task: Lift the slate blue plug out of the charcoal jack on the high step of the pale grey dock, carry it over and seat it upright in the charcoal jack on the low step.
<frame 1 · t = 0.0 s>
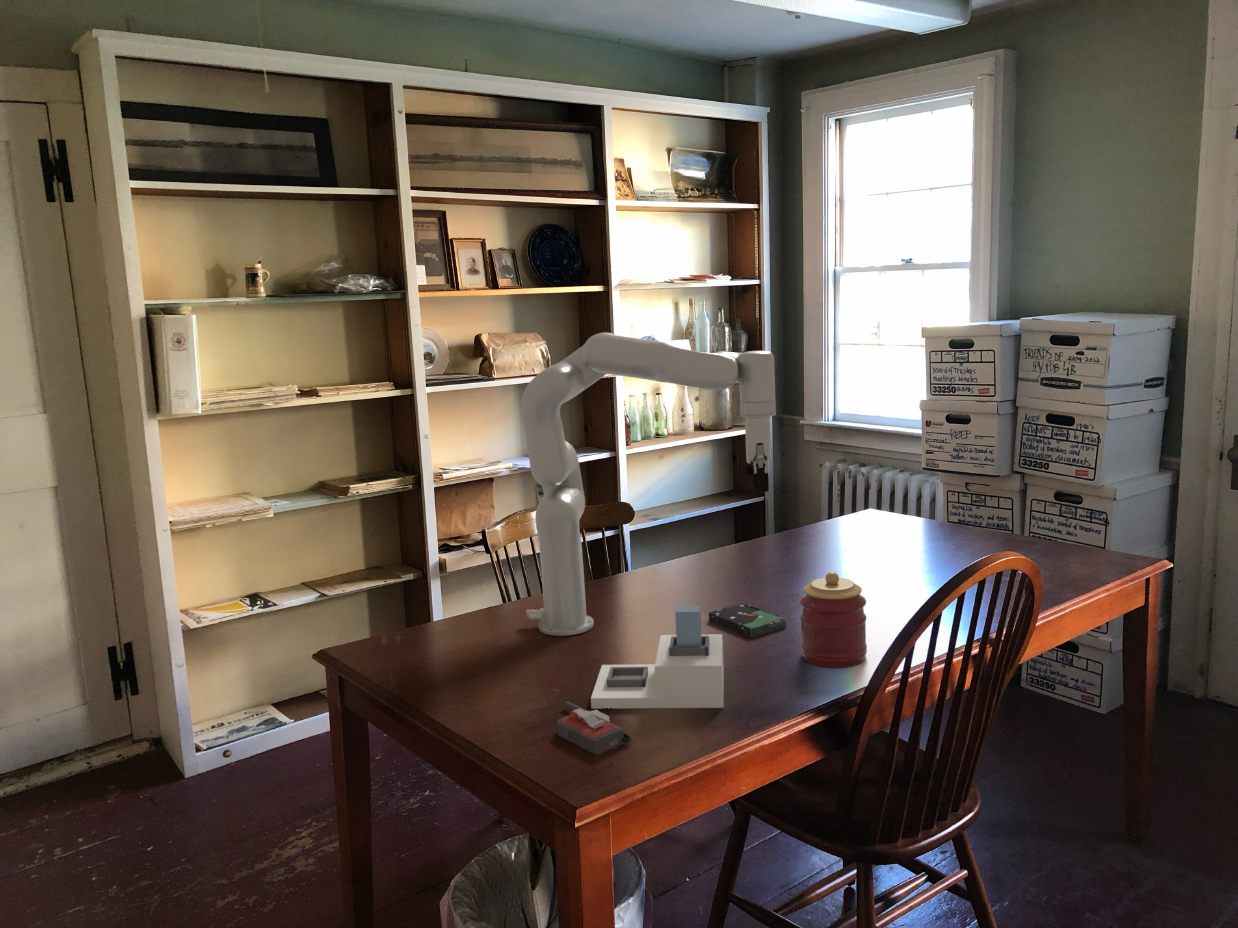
hand: (760, 486, 210), 31 cm above the table, tool pointing down, fingers open, 9 cm apart
canister: (833, 657, 194), on the table
plug: (689, 649, 180), point 8 cm above the table, touching dock
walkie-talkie: (584, 733, 167), on the table
dock: (659, 690, 183), on the table
disk drive: (747, 627, 216), on the table
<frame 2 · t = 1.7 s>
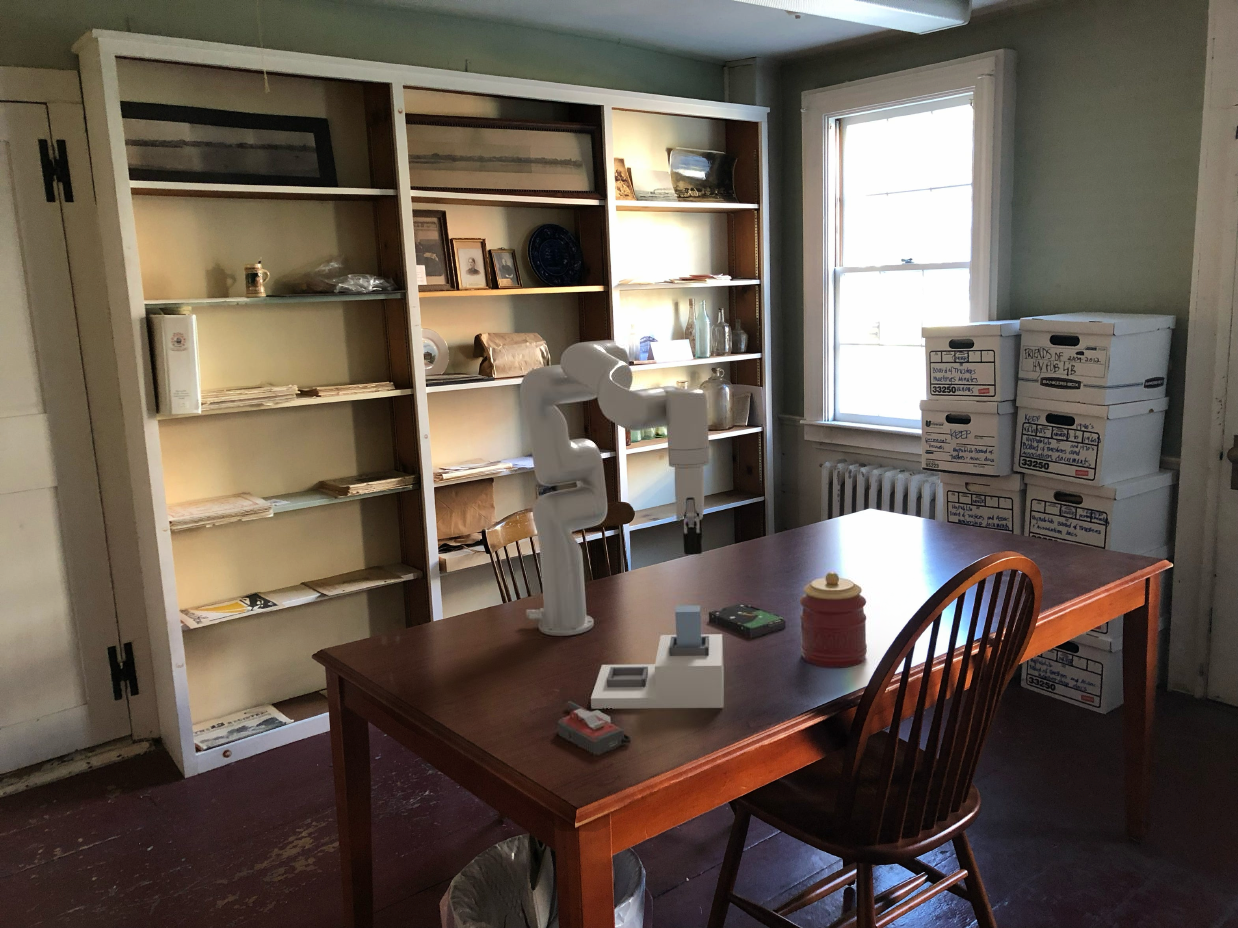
hand: (693, 546, 180), 27 cm above the table, tool pointing down, fingers open, 9 cm apart
nothing on the table moved.
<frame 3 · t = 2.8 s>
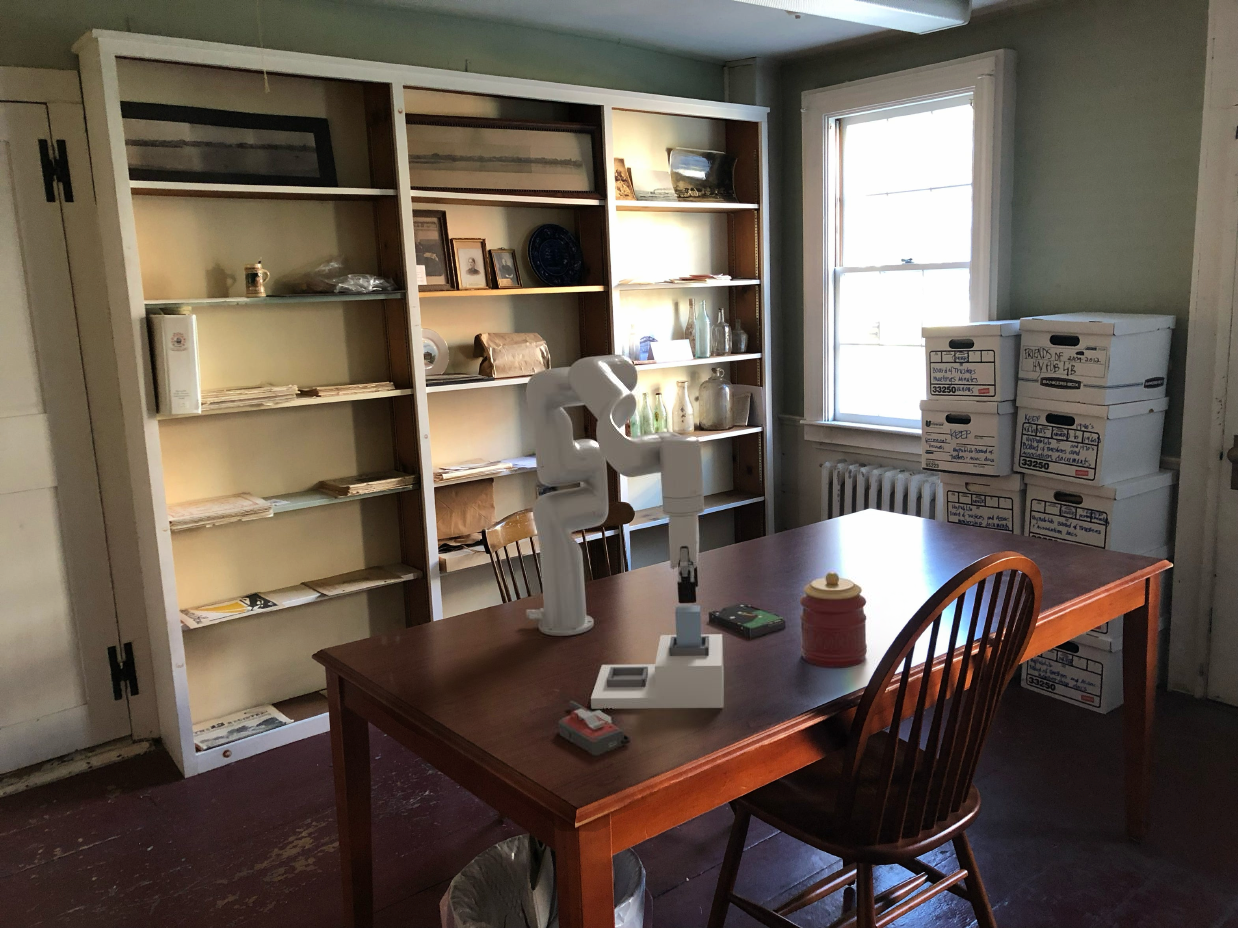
hand: (688, 594, 178), 19 cm above the table, tool pointing down, fingers open, 9 cm apart
nothing on the table moved.
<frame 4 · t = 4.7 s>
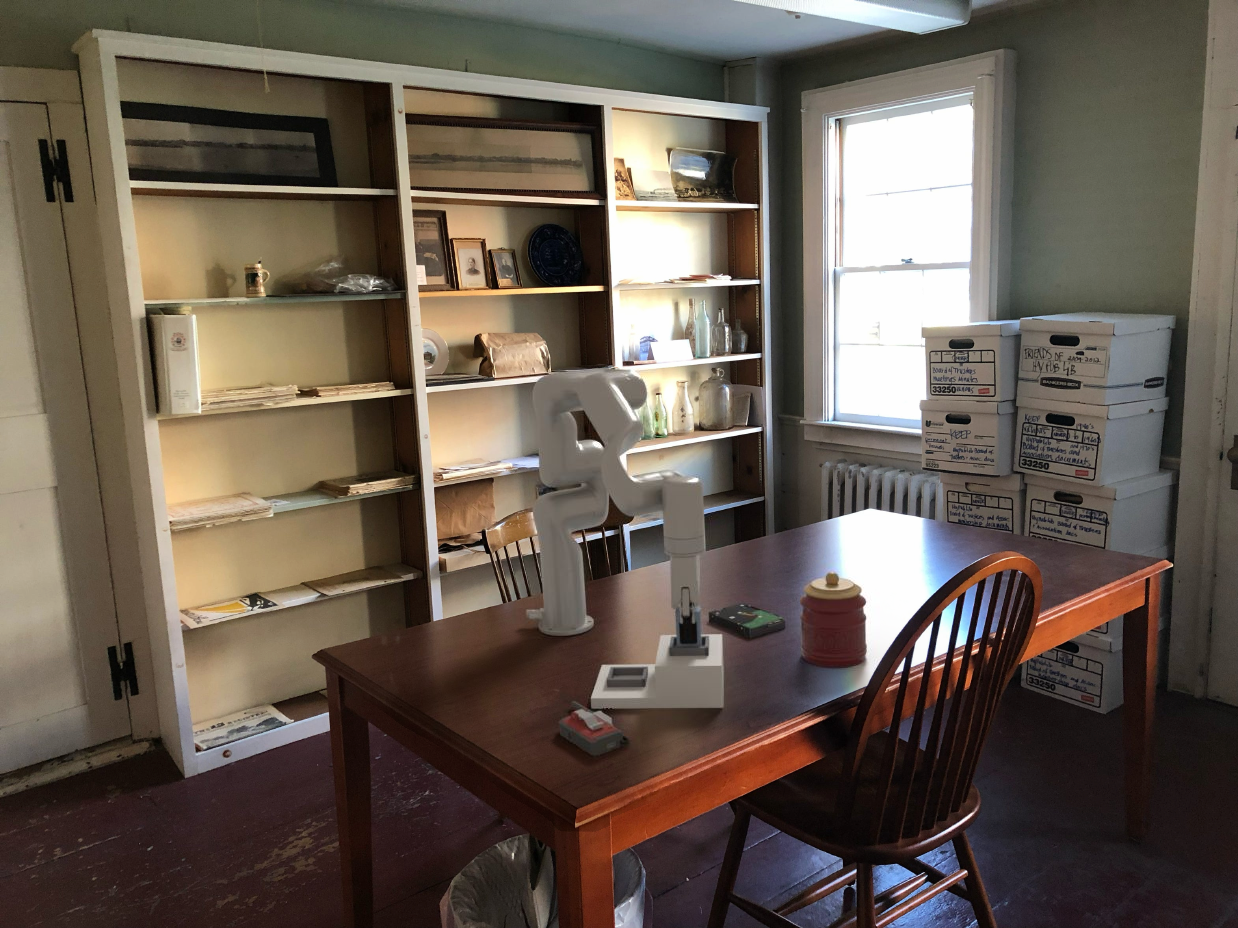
hand: (689, 638, 180), 10 cm above the table, tool pointing down, fingers closed on plug, 3 cm apart
plug: (689, 649, 180), point 8 cm above the table, touching dock, gripper
everything else where it was.
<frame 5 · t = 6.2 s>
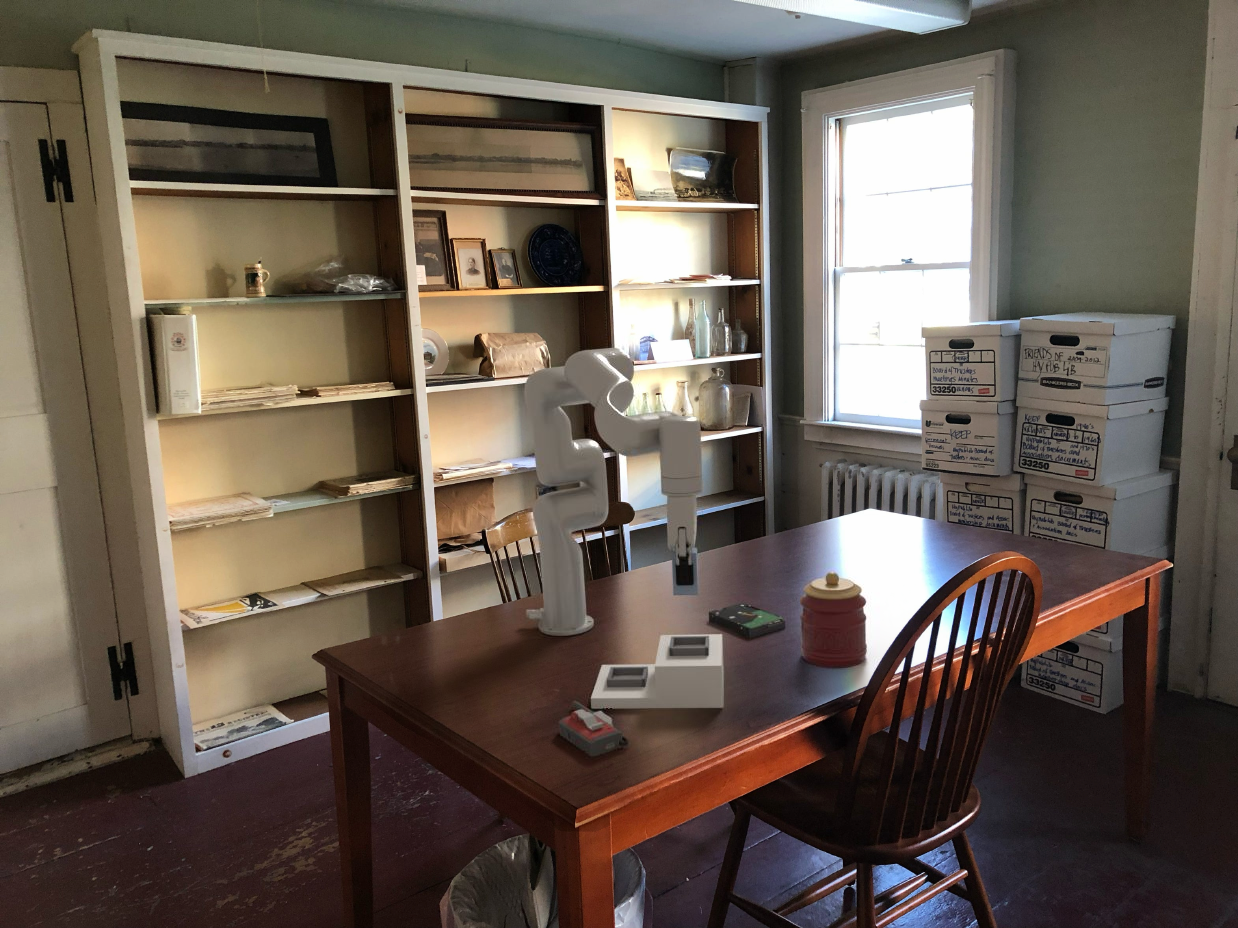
hand: (685, 580, 178), 21 cm above the table, tool pointing down, fingers closed on plug, 3 cm apart
plug: (686, 592, 179), point 19 cm above the table, touching gripper
everything else where it was.
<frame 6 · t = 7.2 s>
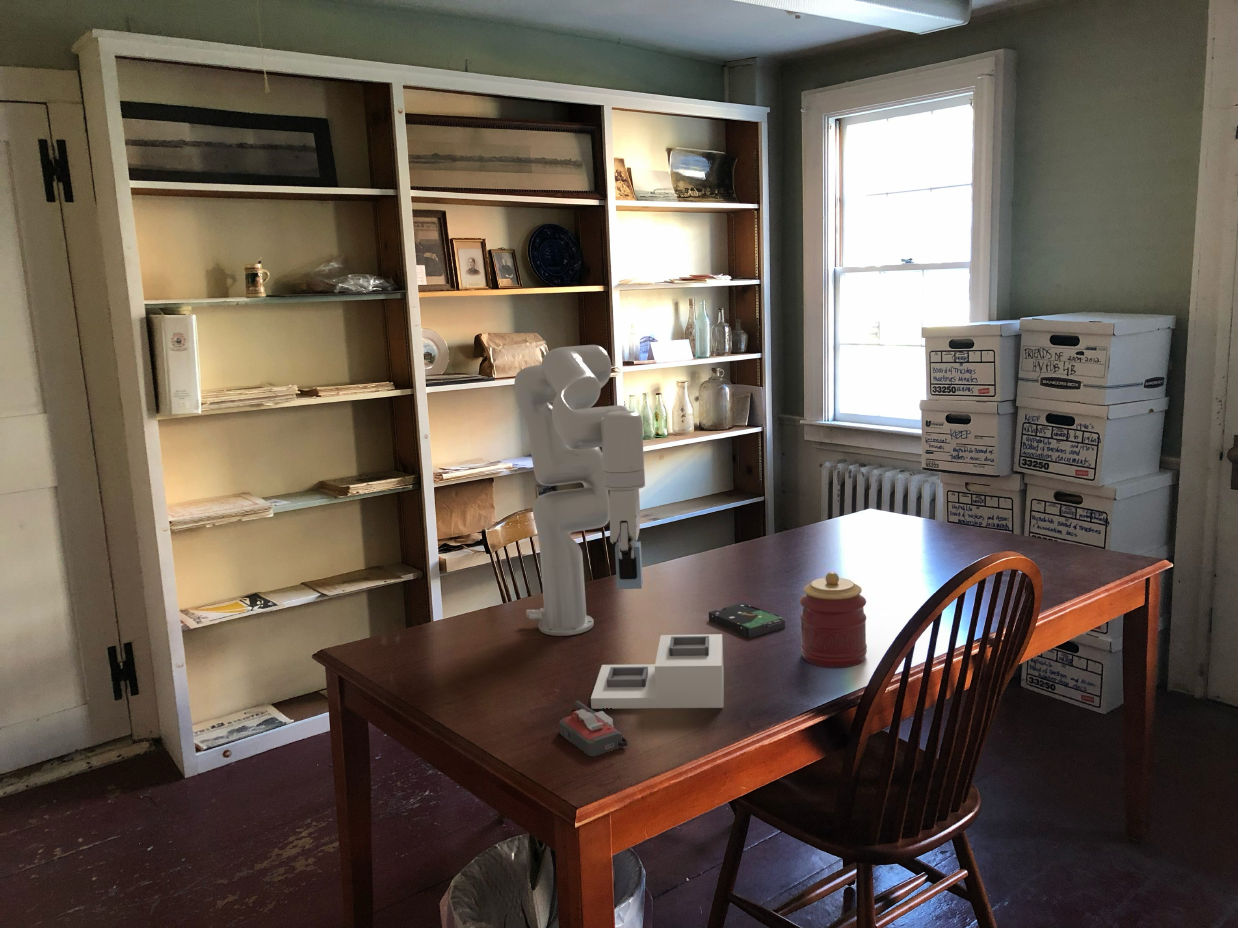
hand: (629, 574, 179), 23 cm above the table, tool pointing down, fingers closed on plug, 3 cm apart
plug: (630, 585, 180), point 21 cm above the table, touching gripper
everything else where it was.
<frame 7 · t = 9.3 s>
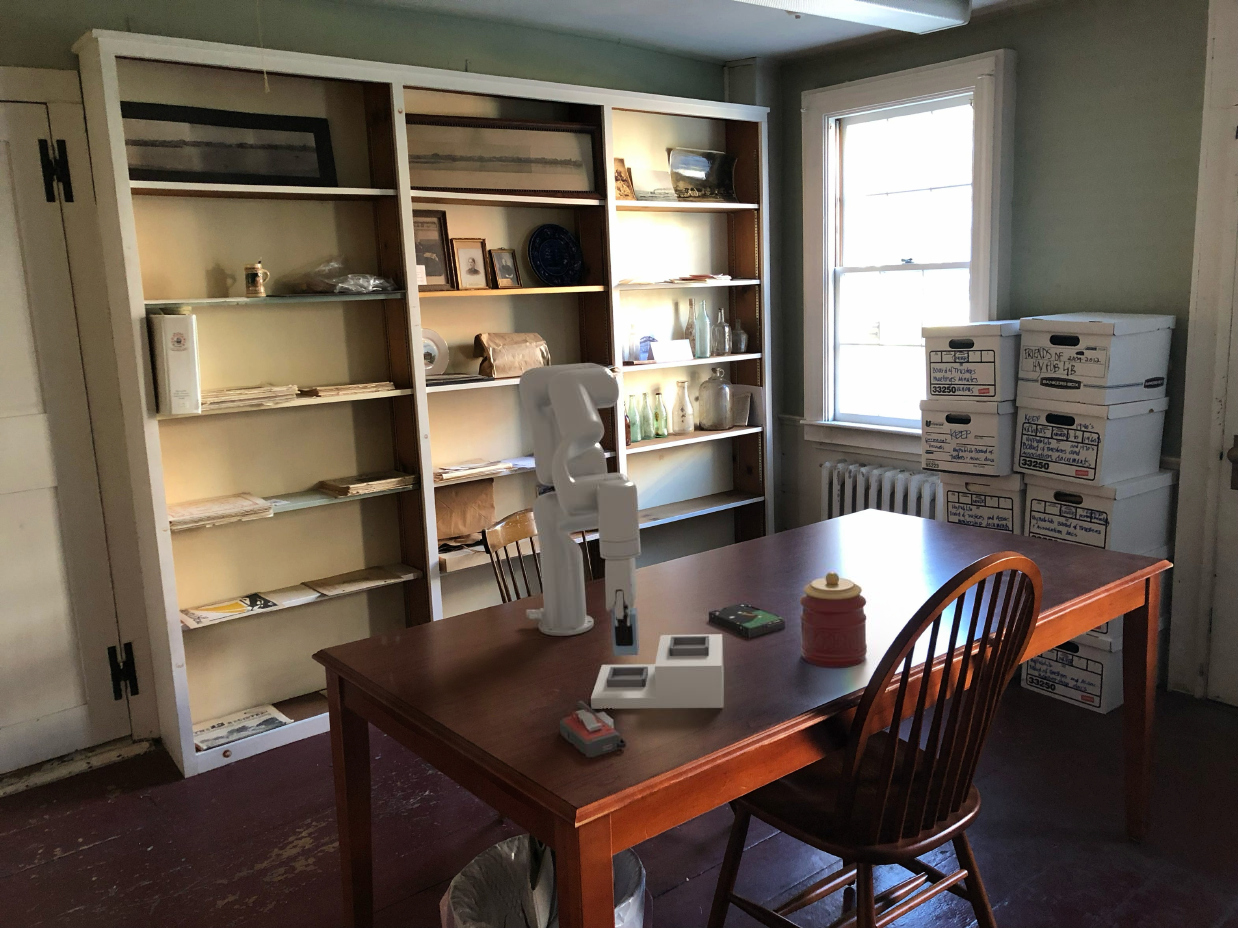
hand: (625, 640, 181), 10 cm above the table, tool pointing down, fingers closed on plug, 3 cm apart
plug: (626, 651, 182), point 8 cm above the table, touching gripper
when the fingers open (5 cm above the table, at t = 10.5 s): plug stays where it is, resting on dock.
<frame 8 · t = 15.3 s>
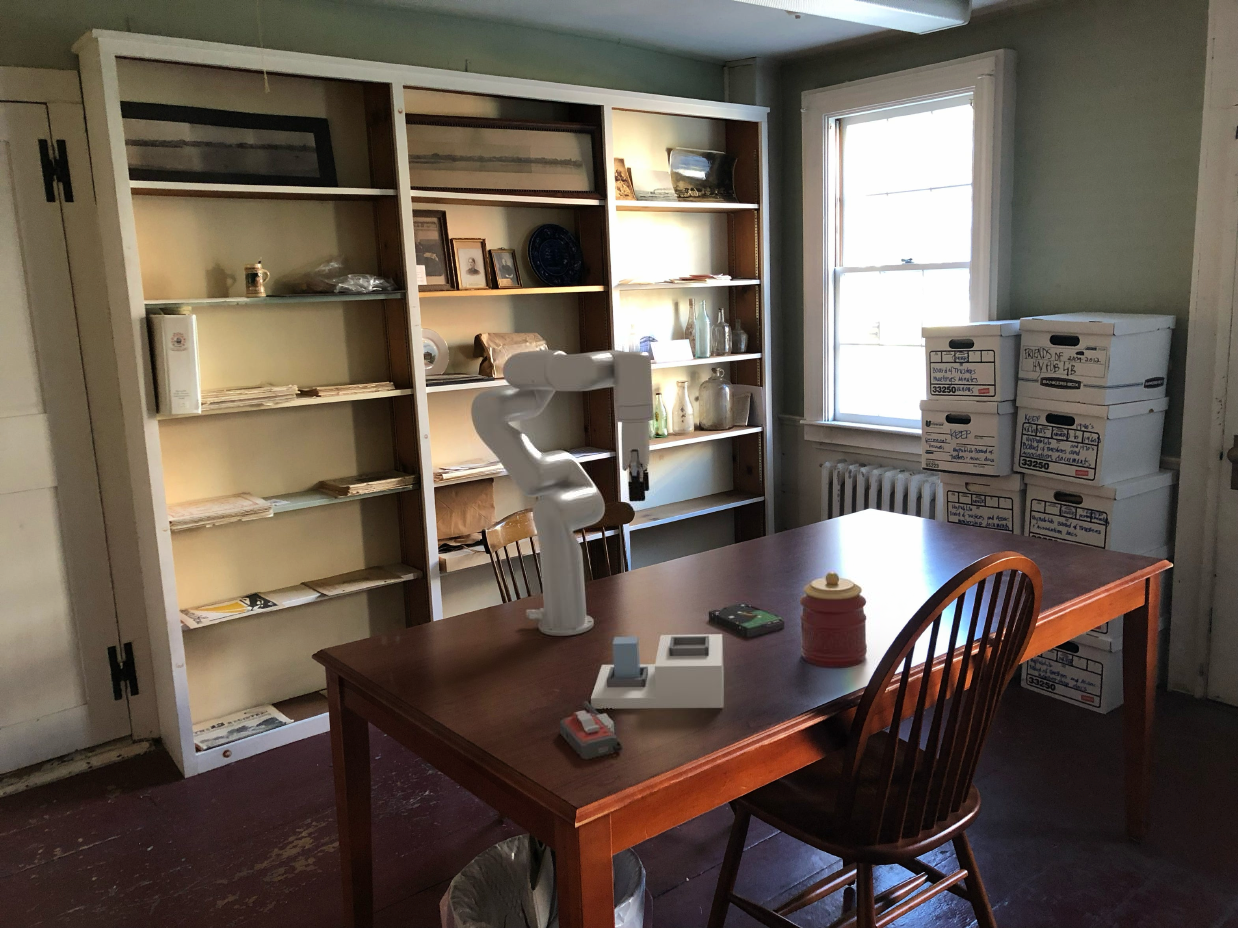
hand: (639, 495, 198), 33 cm above the table, tool pointing down, fingers open, 9 cm apart
plug: (627, 680, 183), point 2 cm above the table, touching dock
at the end: plug 0.2 cm from the target spot on the dock, point 2.0 cm above the dock's base; plug tilted 0°; the gripper is holding nothing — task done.
